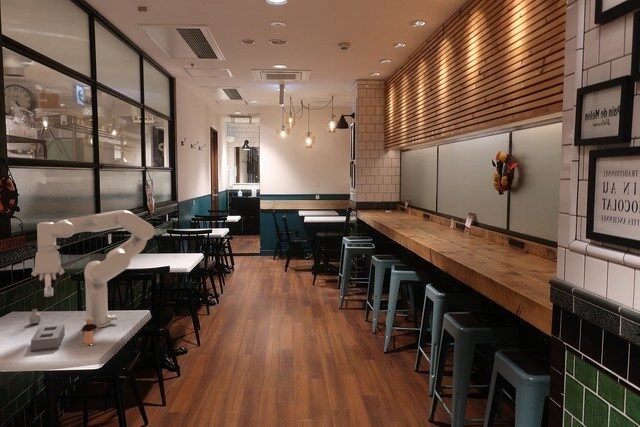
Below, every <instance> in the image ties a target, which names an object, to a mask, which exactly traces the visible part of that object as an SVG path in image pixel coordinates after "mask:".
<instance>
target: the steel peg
mask: <svg viewBox="0 0 640 427" xmlns="http://www.w3.org/2000/svg"><path fill="white" fill-rule="evenodd" d="M43 278H44V289H43V290H44V291H43V294H44V297H52V296H54V288H52V280H53V275H52V273H45V274H44V277H43Z"/></svg>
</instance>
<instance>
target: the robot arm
mask: <svg viewBox="0 0 640 427" xmlns="http://www.w3.org/2000/svg"><path fill="white" fill-rule="evenodd" d="M118 228H119V229H120V228H122V229H124V230H125V231H128V232H129V233H131V235H130V238H129V239H128V240H127V241H125V242H123V243H122V244H120V245H119V246H117V247H115V248H113V249H112V250H110V251H109V252H108V253H106V257H105V259H104V260H102V261H100V260H93V261H89V262H88V263H87V264H86V266H85V268H84V280H85V281H84V282H85V302H86V303H85V304H86V306H85V308H86V309H85V310H86V317H88V316H91V317H93V321H92V323H91V324H95V325H96V326H97V328H98V329H100V328H105V327H107V326H110V325H111V324H112V321H118V317H119V316H118V315H110V313H109V311H108V310H109V307H108V282H109V281H110V280H111V279H113V278H115V277H117V276H118V275H119V274H121V273H122V272H124V271H125V270H127V269H128V267H130V264H131V262H132V261H131V259H133V258H135V257H136V256H137V255H138V254H140V253H141V252H142V251H143V250H144V249H145V248H146V245H147V243H148V240H150V239H152V238H153V237H154V236H155V233H156V232H155V227H154V226H153V225H152V224H151V223H149V222H148V221H146V220H144V219H143V218H141V217H139V216H138V215H136V214H135V213H133V212H131V211H129V210H125V209H120V210H119V209H118V210H113V211H107V212H102V213H96V214H90V215H84V216H78V217H72V218H67V219H66V218H65V219H61V220H59V221H57V222H51V221H43V222H38V224H37V225H36V232H37V238H36V239H37V252H36V254H35V257H34V258H35V259H34V260H35V261H34V268H33V270H32V271H31V273H30V274H31V276H34V277H35V278H37V279H38V280H39V281H40V283H39V284H40V287H41V290H44V274H45V273H52V275H53V280H52V288H53V289H55V288H56V286H57V279H58V278H59V277H60V276H62V275H63V274H64V273H65V270H64V268H63V267H62V266H61V255H60V252H59V251H58V250H59V249H61V246H60V245H57V238H64V239H66V238H70V237H73V235H74V234H78V233H85V232H89V233H91V232H92V233H97V232H103V231H108V230H112V229H118ZM86 324H87V323H86V322H85V321H84V323H83V324H82V325H83V326H82V327H84V326H85V325H86Z"/></svg>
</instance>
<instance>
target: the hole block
mask: <svg viewBox="0 0 640 427" xmlns="http://www.w3.org/2000/svg"><path fill="white" fill-rule="evenodd" d="M65 327H66V326H65V324H55V325H54V324H53V325H52V324H51V325H41V326H39V327H38V328H37V330H36V332H35V334H33V337H32V338H31V340H30V351H31V353H36V352H37V353H38V352H45V351H56V350H59V349H60V346H61V344H62V343H63V340H64V338H65V336H66V333H65V332H66V331H65Z"/></svg>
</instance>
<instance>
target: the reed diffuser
mask: <svg viewBox="0 0 640 427" xmlns="http://www.w3.org/2000/svg"><path fill="white" fill-rule="evenodd" d="M30 286H31V288H34V289H31V291H32V292H31V293H32V295H33V296H32V300H31V299H30V296H29V294H28V292H27V290H26V288H25V287H23V289H24V291H25V293H26V295H27V298H28V300H29V302H30V304H31V305H32V312H31V313H30V314H29V315H28V316H29V317H28V318H29V324H31V325H32V324H33V325H34V324H39V323H41V321H42V316H41V314H40V312H38V308H37V305H36V304H37V303H36V302H37V301H35V299H36V286H35V284H33V285H32V283H30ZM32 301H33V303H32Z"/></svg>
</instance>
